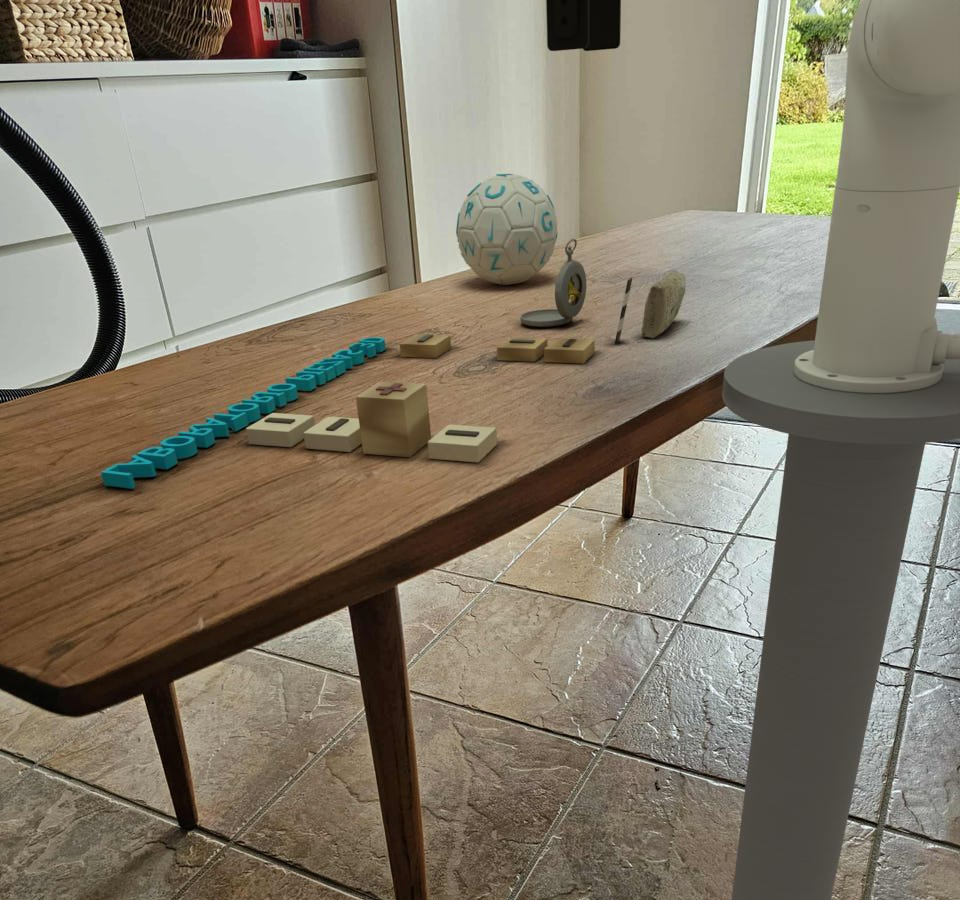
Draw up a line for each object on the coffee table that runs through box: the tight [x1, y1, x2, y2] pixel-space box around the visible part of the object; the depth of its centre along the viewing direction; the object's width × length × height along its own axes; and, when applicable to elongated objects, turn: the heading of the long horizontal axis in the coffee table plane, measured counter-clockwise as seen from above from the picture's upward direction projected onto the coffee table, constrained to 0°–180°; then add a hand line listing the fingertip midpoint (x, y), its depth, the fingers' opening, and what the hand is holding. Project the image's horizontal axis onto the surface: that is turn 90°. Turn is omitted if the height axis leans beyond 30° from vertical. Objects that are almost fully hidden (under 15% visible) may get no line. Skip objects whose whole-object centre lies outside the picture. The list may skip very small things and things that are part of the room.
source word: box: [399, 333, 596, 365], centre depth 102 cm, size 22×4×2 cm, turn 69°
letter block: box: [355, 380, 432, 458], centre depth 77 cm, size 4×4×5 cm
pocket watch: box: [519, 238, 587, 328], centre depth 111 cm, size 8×8×10 cm
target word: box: [245, 412, 498, 463], centre depth 79 cm, size 22×4×2 cm, turn 69°
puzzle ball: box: [455, 173, 559, 286], centre depth 134 cm, size 15×15×15 cm
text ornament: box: [100, 336, 387, 489], centre depth 91 cm, size 45×3×1 cm, turn 157°
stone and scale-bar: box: [614, 269, 687, 345], centre depth 105 cm, size 7×4×12 cm
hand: (585, 49), depth 73 cm, fingers open, 9 cm apart
